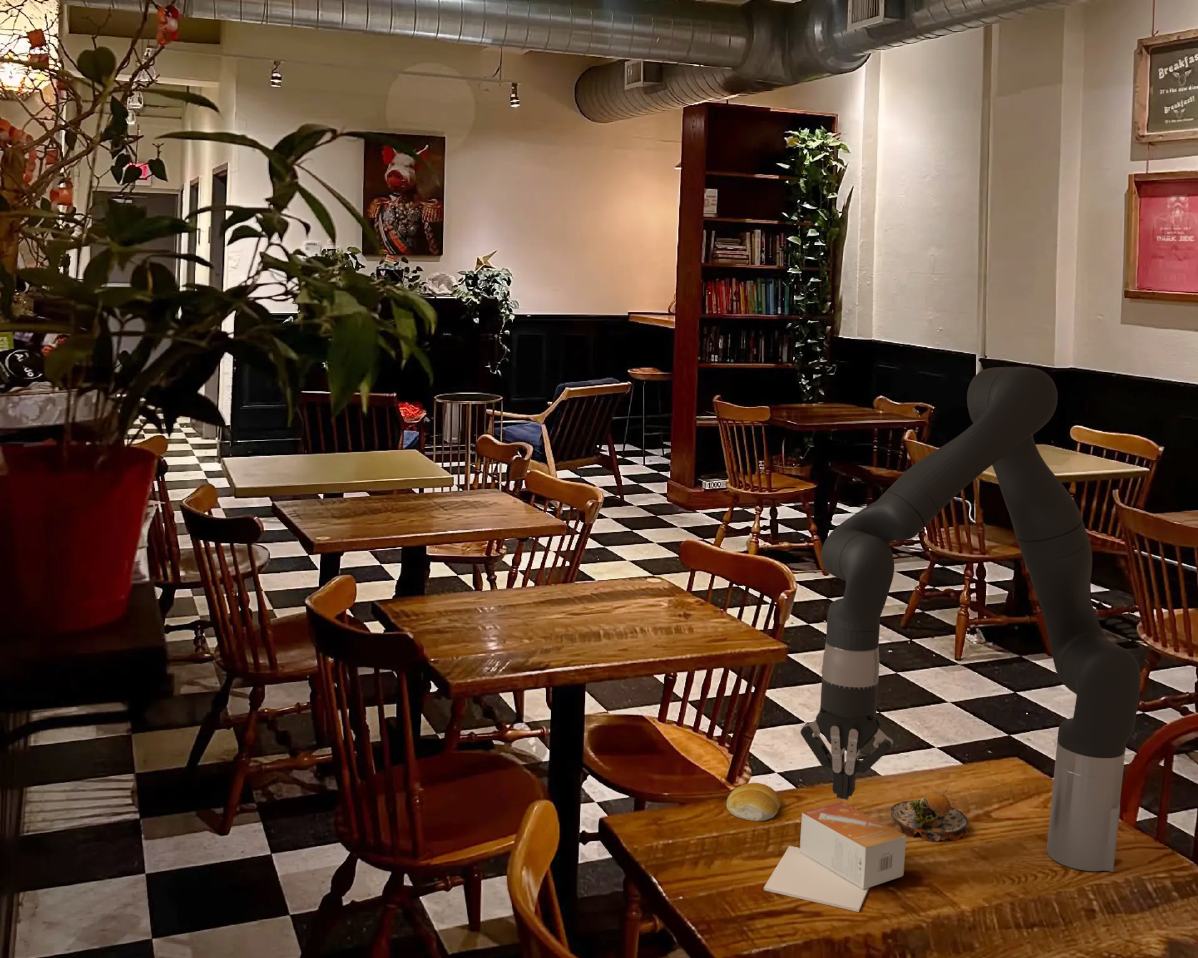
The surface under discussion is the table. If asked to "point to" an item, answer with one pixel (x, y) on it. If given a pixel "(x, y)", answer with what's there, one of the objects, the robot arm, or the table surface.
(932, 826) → the burger
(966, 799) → the table surface
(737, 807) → the bread roll
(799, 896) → the mat
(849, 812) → the small box
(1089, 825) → the robot arm
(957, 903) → the table surface
